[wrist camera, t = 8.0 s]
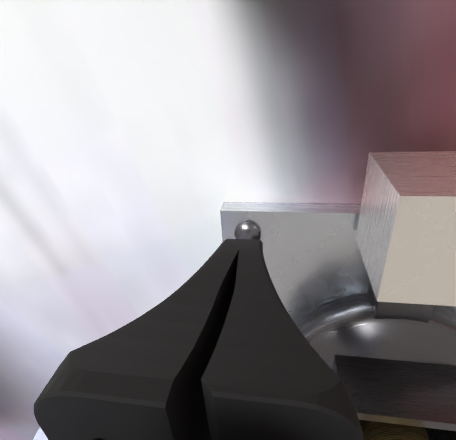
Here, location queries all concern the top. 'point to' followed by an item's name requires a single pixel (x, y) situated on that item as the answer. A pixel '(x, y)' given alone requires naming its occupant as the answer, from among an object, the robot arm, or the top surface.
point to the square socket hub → (399, 297)
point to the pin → (391, 431)
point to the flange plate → (303, 249)
